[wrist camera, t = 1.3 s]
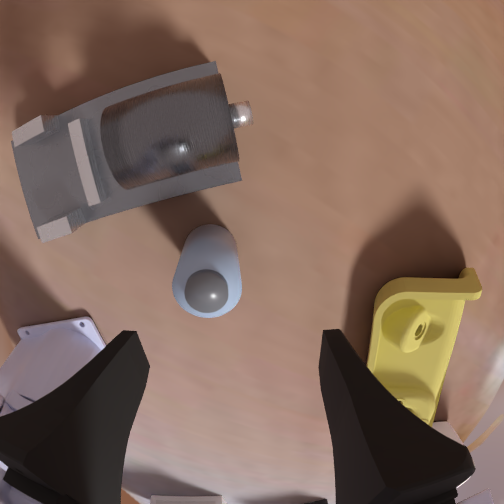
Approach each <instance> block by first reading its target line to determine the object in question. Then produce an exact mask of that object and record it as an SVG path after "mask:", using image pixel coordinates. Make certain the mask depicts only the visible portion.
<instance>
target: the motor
mask: <svg viewBox="0 0 504 504" xmlns="http://www.w3.org/2000/svg"><path fill="white" fill-rule="evenodd" d="M248 125H253V117H252V112H251V107H250V104H249V101H244V102H238V103H233V104H229V105H228V101H227V96H226V92H225V88H224V84H223V80H222V77H221V74H220V73H219V74H218V70H217V65H216V61H214V62H209V63H205V64H201V65H196V66H192V67H188V68H184V69H181V70H177V71H173V72H170V73H166V74H163V75H160V76H156V77H153V78H150V79H147V80H144V81H141V82H138V83H135V84H132V85H129V86H126V87H123V88H121V89H118V90H115V91H113V92H110V93H108V94H105V95H103V96H100V97H98V98H95V99H93V100H91V101H88V102H86V103H84V104H81V105H79V106H77V107H75V108H73V109H70V110H68V111H66V112H64V113H62V114H60V115H40V116H38V117H36V118H34V119H33V120H31V121H29V122H27V123H26V124H24V125H22V126H21V127H19V128H17V129H16V130H14V131H12V136H13V141H11V143H12V148H13V153H14V157H15V162H16V166H17V170H18V174H19V178H20V182H21V186H22V190H23V193H24V197H25V200H26V203H27V207H28V210H29V213H30V216H31V219H32V222H33V225H34V228H35V231H36V234H37V237H38V239H41V241H42V243H44V242H47V241H50V240H53V239H56V238H59V237H62V236H65V235H68V234H71V233H73V232H74V231H75V230H77V229H78V228H79V227H81V226H82V225H84V224H85V223H87V222H90V221H93V220H96V219H99V218H102V217H106V216H109V215H112V214H115V213H119V212H122V211H125V210H129V209H132V208H136V207H139V206H143V205H146V204H150V203H153V202H157V201H161V200H164V199H168V198H172V197H176V196H179V195H183V194H187V193H191V192H195V191H199V190H203V189H207V188H212V187H216V186H220V185H224V184H229V183H233V182H238V181H242V178H241V174H240V169H239V165H238V161H239V154H238V148H237V143H236V138H235V133H234V128H238V127H243V126H248Z"/></svg>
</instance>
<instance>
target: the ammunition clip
mask: <svg viewBox="0 0 504 504" xmlns="http://www.w3.org/2000/svg"><path fill="white" fill-rule="evenodd" d="M306 504H328V502H327V499H324V500H320V501H315V502H311V503H306Z"/></svg>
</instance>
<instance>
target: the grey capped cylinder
mask: <svg viewBox="0 0 504 504" xmlns="http://www.w3.org/2000/svg"><path fill="white" fill-rule="evenodd" d="M172 289H173V294H174V297H175V299H176V301H177V302H178V304H179V305H180V306H181V307H182V308H183V309H184V310H186V311H187V312H189V313H190V314H193V315H195V316H198V317H205V318H212V317H218V316H221V315H223V314H225V313H227V312H229V311H230V310H231V309H233V308H234V307H235V305H236V304H237V303H238V301H239V299H240V296H241V292H242V283H241V276H240V268H239V260H238V252H237V245H236V241H235V239H234V237H233V235H232V234H231V233H230V232H229V231H228V230H227V229H225V228H223V227H221V226H219V225H214V224H206V225H202V226H199V227H197V228H195V229H194V230H193V231H192V232H191V233H190V234H189V235H188V237H187V239H186V241H185V244H184V247H183V250H182V253H181V256H180V259H179V262H178V265H177V269H176V272H175V275H174V278H173V283H172Z"/></svg>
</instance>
